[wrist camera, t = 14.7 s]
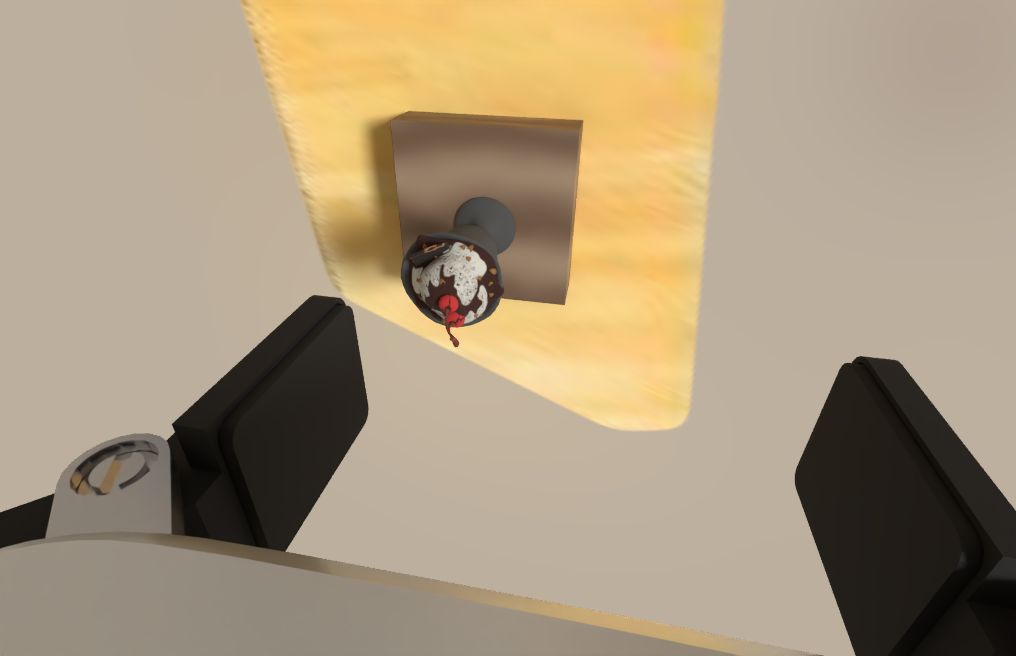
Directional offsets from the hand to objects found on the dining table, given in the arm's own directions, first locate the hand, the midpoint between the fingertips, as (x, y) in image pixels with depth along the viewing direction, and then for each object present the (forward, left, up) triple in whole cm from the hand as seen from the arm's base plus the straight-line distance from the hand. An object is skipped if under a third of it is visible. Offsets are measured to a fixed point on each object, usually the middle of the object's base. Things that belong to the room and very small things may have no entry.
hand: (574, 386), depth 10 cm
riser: (+8, -9, -34) cm, 36 cm away
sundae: (+9, -9, -31) cm, 33 cm away
